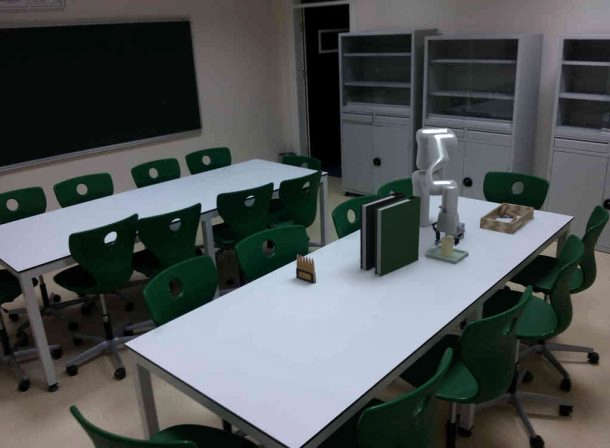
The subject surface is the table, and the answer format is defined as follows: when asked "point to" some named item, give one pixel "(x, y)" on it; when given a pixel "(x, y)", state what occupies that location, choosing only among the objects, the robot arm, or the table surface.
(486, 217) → the frame
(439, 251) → the tray
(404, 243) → the pair of upright books
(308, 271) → the ammunition clip
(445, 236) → the dispenser
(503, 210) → the toilet paper hanger
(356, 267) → the table surface
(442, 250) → the block
